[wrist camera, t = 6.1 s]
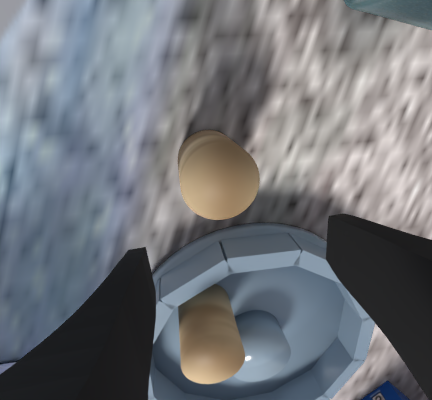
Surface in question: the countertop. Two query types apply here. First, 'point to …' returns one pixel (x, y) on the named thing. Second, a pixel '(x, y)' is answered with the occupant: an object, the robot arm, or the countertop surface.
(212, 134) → the bead
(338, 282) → the ring tray
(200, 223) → the countertop surface
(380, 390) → the pasta box
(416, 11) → the flower pot
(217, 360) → the bead
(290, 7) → the countertop surface
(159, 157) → the countertop surface
